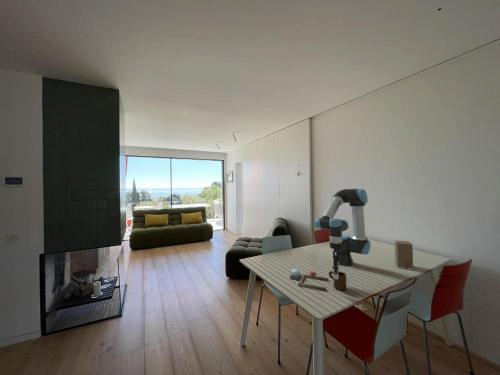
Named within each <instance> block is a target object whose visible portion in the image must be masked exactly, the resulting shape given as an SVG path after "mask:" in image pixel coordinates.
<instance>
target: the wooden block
mask: <svg viewBox="0 0 500 375" xmlns="http://www.w3.org/2000/svg"><path fill="white" fill-rule="evenodd" d="M413 248H414V247H413V243H412V242H410V241H409V240H408V241H407V240H397V239H396V240H394V253H395V254H394V259H395V260H394V262H395V263H394V264H395V265H396V267H397V266H398V267H404V268H403V269H405V268H413V269H414V257H413V256H414V254H413V253H414V252H413V251H414V250H413ZM398 267H397V268H398Z"/></svg>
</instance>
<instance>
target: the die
mask: <svg viewBox="0 0 500 375" xmlns="http://www.w3.org/2000/svg"><path fill="white" fill-rule="evenodd" d="M309 275H312V276H317V272H316V271H315V270H309Z"/></svg>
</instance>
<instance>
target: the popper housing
mask: <svg viewBox="0 0 500 375" xmlns="http://www.w3.org/2000/svg"><path fill="white" fill-rule="evenodd" d="M302 276H303V273H301V272H300V276H293V275H292V272H291V273H290V275H289V279H290V280H291V279H292V280H297V281H300V279H301V277H302Z"/></svg>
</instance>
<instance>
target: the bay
mask: <svg viewBox="0 0 500 375" xmlns="http://www.w3.org/2000/svg"><path fill="white" fill-rule="evenodd" d="M305 278H308V279H313V280H320V281H324V282H325V281H326V282H329V277H324V276H317V275H316V276H312V275H310V274H305V273H302V277H301V279H300V280H298V284H297V285H298V287H303V288H307V289H309V288H310V289H314V290H318V291H319V290H320V291H326V292H327V287H325V286H319V285H313V284H309V283H303V282H304V280H305Z"/></svg>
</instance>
